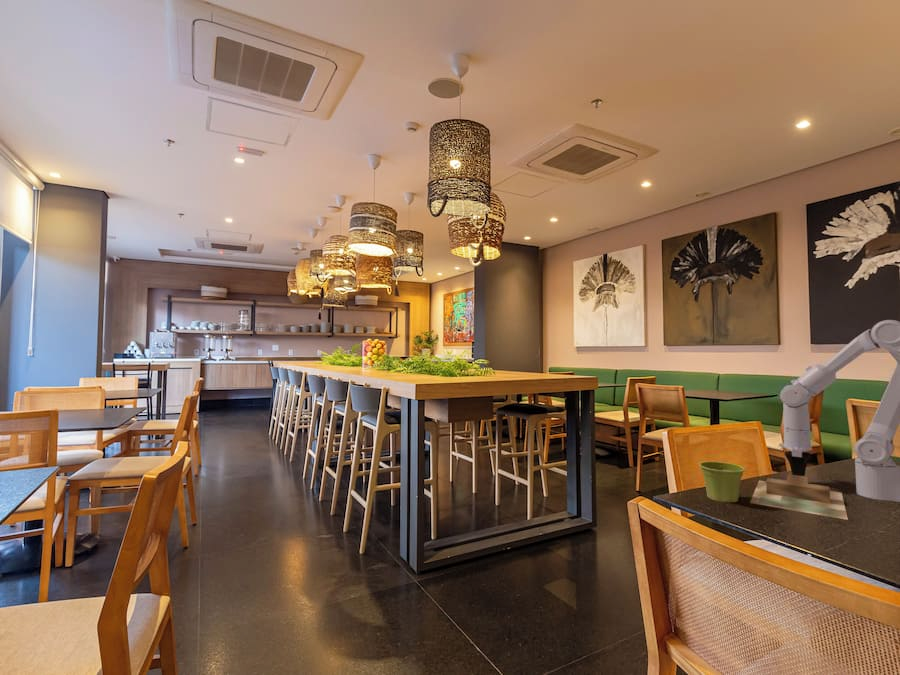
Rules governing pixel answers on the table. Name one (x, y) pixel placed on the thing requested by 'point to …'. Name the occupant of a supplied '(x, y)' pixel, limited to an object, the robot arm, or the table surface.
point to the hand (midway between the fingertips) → (798, 479)
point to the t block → (798, 489)
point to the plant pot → (722, 480)
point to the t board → (801, 503)
